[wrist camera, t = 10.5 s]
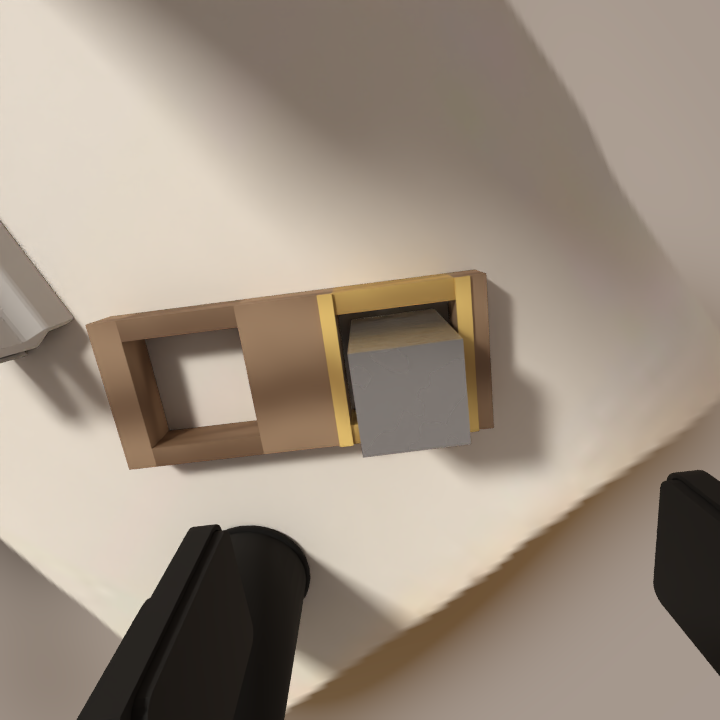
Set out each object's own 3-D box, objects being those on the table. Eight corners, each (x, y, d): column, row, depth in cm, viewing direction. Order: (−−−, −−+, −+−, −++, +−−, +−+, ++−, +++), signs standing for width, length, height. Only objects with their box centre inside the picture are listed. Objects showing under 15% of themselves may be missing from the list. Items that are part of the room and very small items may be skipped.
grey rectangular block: (351, 319, 27) (347, 354, 19) (433, 308, 27) (463, 338, 19) (362, 396, 28) (363, 457, 20) (440, 385, 28) (471, 444, 20)
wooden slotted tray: (110, 316, 27) (83, 325, 24) (474, 269, 26) (487, 273, 23) (148, 450, 29) (127, 471, 27) (482, 411, 28) (494, 429, 26)
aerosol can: (328, 549, 31) (276, 1050, 12) (285, 632, 33) (182, 1174, 14) (218, 507, 30) (-28, 977, 11) (181, 595, 32) (-80, 1120, 13)
